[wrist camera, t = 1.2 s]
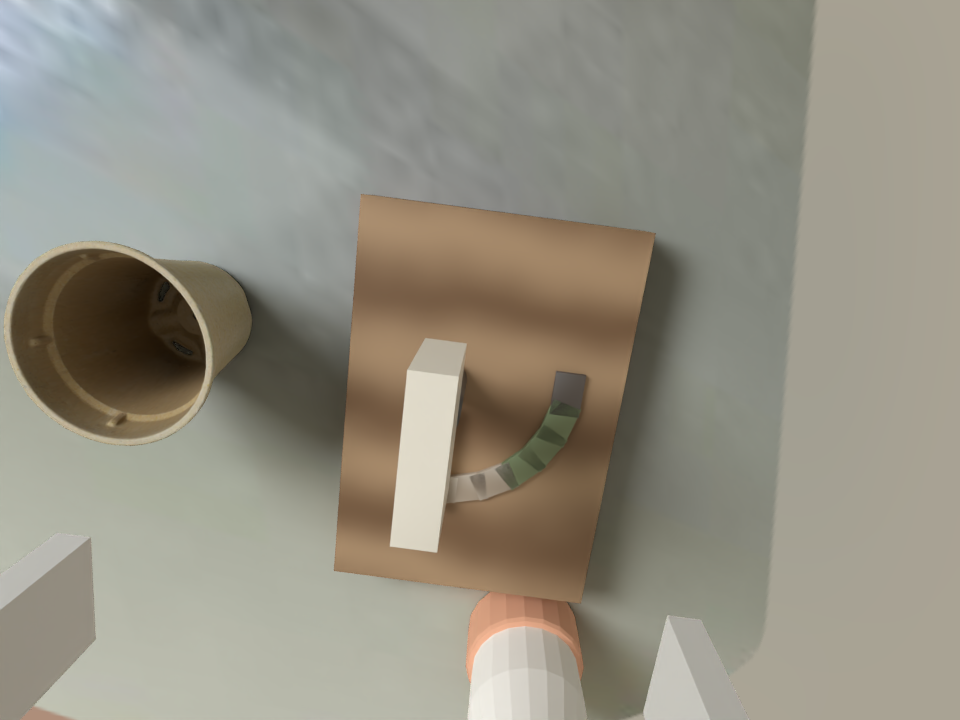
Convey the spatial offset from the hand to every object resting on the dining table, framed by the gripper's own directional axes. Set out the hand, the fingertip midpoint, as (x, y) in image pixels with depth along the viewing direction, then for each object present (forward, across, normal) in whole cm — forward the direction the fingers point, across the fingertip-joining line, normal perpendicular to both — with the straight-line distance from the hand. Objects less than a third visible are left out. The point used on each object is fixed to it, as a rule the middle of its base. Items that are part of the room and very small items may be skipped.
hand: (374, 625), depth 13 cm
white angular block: (+19, 0, -2) cm, 19 cm away
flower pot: (+22, -15, +1) cm, 27 cm away
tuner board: (+22, +2, -2) cm, 22 cm away
